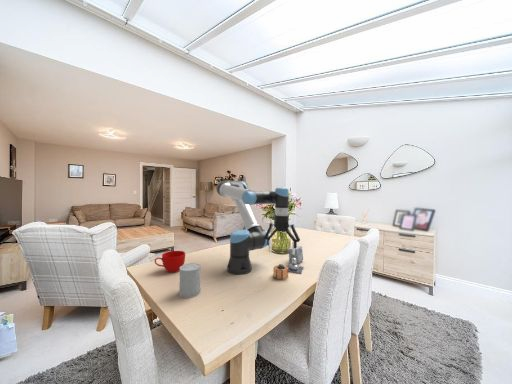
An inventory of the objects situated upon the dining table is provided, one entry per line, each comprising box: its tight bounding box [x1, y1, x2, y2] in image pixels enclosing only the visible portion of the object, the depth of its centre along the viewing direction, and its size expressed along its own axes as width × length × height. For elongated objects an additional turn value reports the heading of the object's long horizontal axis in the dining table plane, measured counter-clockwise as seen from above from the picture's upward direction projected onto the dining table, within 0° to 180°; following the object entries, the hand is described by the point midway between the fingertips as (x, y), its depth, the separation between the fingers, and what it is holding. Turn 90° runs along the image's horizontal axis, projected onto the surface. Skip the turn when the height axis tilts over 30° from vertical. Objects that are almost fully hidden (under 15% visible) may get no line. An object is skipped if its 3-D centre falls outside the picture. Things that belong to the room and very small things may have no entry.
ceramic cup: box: [154, 250, 186, 273], centre depth 126 cm, size 13×17×10 cm
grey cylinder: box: [179, 262, 202, 299], centre depth 100 cm, size 10×10×12 cm
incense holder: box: [286, 245, 304, 264], centre depth 144 cm, size 10×8×10 cm
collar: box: [273, 264, 289, 280], centre depth 120 cm, size 8×8×5 cm
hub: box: [286, 258, 305, 275], centre depth 130 cm, size 10×10×7 cm
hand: (281, 252), depth 119 cm, fingers open, 13 cm apart
